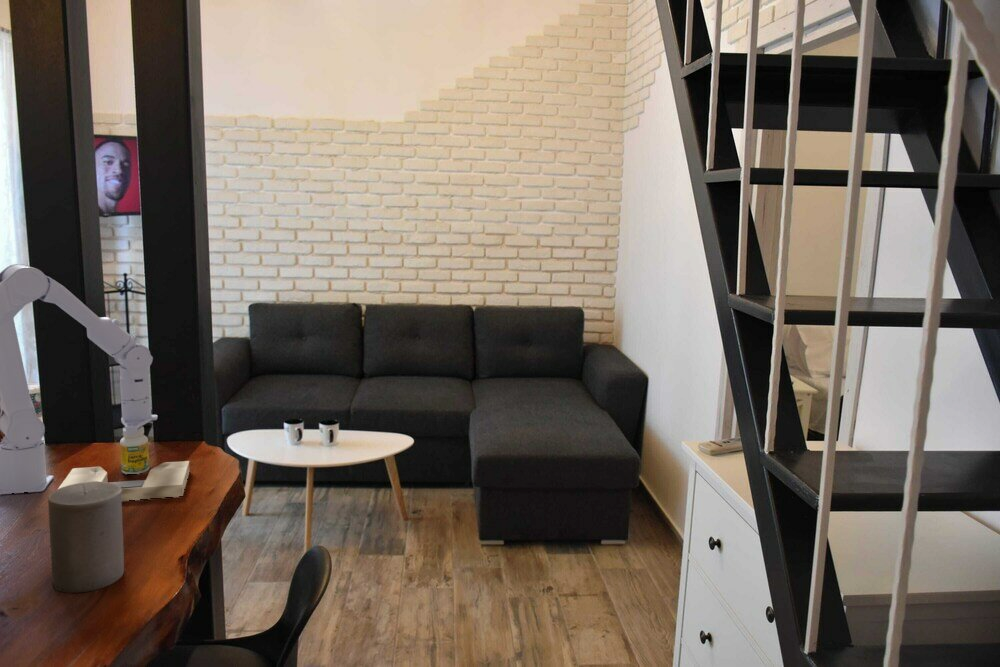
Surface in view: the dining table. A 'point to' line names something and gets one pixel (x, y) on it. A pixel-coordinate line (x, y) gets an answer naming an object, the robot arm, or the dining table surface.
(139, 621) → the dining table surface
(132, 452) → the supplement bottle
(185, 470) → the jig block
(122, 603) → the dining table surface
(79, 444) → the dining table surface
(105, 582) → the pillar candle
